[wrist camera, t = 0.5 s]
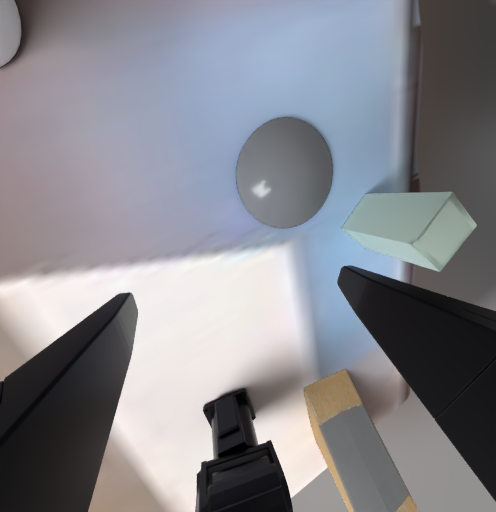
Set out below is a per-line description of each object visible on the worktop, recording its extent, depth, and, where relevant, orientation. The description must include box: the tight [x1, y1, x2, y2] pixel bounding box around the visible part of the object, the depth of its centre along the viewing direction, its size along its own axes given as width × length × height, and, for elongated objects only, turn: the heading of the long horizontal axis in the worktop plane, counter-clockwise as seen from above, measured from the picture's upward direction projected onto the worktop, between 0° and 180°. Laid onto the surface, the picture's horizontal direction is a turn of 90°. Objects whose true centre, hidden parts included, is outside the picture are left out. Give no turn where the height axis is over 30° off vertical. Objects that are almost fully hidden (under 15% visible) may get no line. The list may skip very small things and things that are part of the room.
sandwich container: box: [303, 369, 420, 512], centre depth 28 cm, size 9×15×15 cm, turn 16°
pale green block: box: [341, 192, 477, 272], centre depth 22 cm, size 5×5×9 cm
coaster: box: [236, 117, 333, 228], centre depth 21 cm, size 11×11×1 cm
